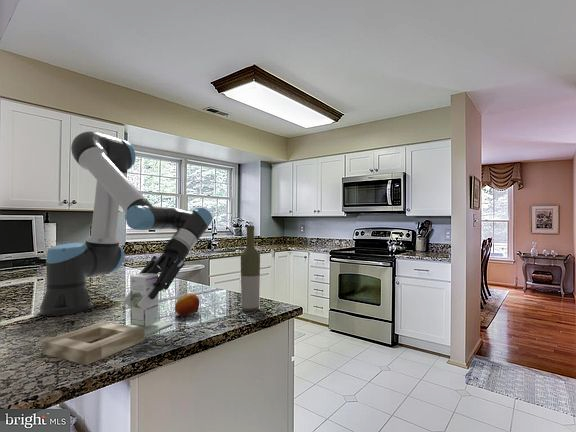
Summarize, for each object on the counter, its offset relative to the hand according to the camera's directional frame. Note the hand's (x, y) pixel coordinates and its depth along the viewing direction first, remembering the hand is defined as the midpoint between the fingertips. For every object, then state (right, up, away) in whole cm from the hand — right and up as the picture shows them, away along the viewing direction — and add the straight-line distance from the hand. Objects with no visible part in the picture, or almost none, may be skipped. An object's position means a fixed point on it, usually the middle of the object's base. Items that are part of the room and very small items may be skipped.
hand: (133, 305), depth 94 cm
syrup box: (+2, -6, +3) cm, 7 cm away
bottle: (+31, -8, +22) cm, 39 cm away
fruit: (+10, -8, +17) cm, 21 cm away
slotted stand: (-4, -7, -11) cm, 14 cm away
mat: (+2, -7, +3) cm, 8 cm away
